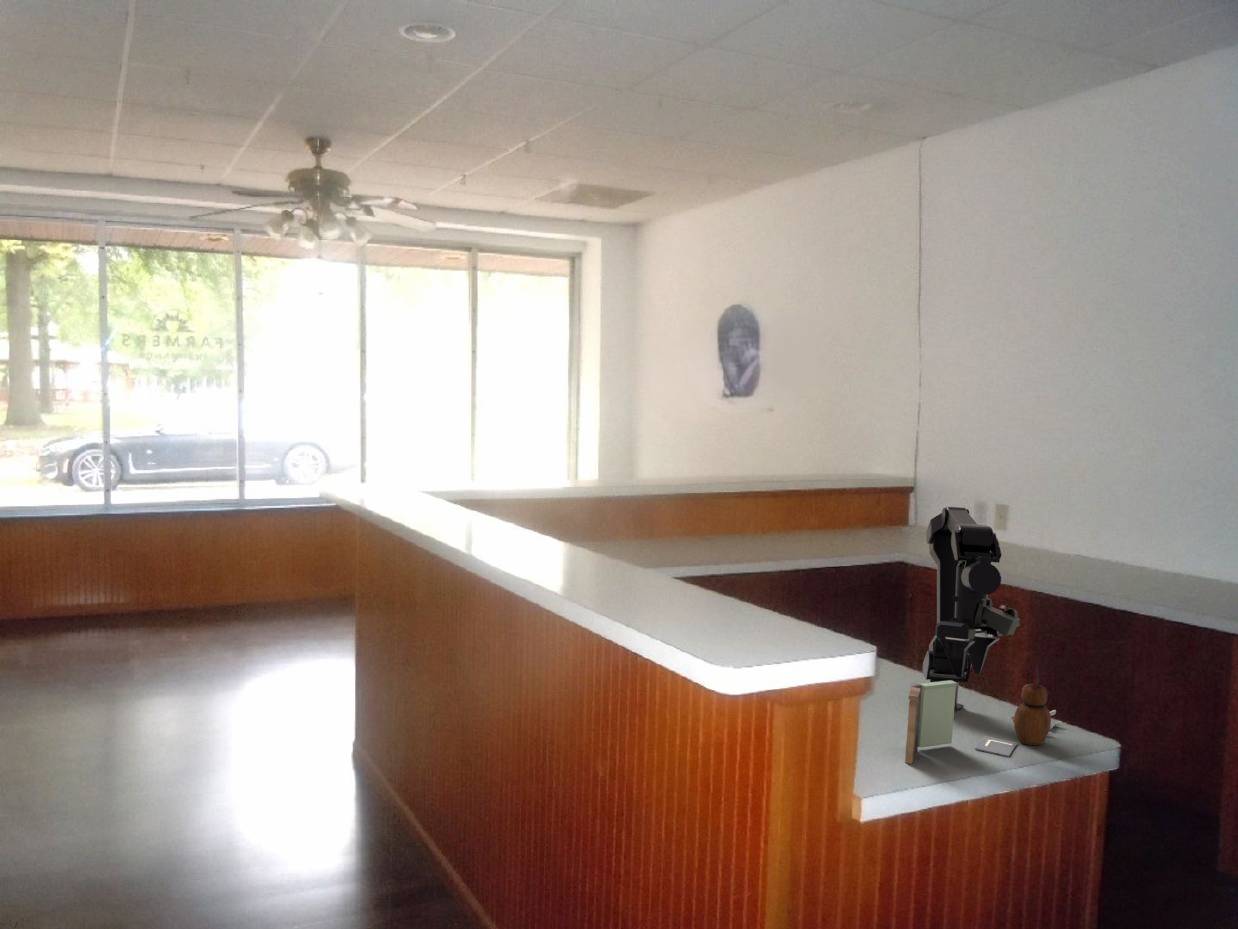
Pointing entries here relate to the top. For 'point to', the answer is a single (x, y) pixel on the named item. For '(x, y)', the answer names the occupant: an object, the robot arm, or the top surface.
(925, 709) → the pale green rectangular panel
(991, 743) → the card
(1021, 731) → the wooden figurine
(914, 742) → the brown upright slab
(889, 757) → the top surface
